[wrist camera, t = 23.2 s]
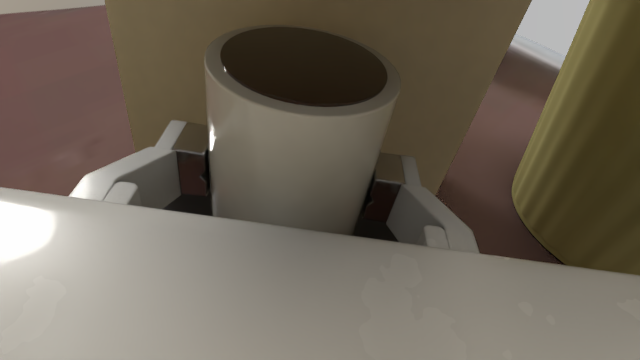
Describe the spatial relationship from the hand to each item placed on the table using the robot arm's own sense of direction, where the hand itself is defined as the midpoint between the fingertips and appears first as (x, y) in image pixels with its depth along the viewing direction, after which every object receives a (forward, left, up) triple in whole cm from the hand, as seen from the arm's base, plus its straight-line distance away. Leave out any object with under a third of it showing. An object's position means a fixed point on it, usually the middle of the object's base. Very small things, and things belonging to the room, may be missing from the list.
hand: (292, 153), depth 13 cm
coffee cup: (0, +1, -5) cm, 5 cm away
